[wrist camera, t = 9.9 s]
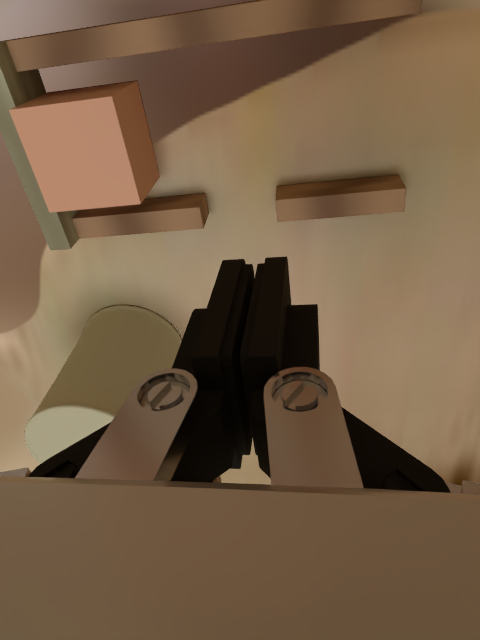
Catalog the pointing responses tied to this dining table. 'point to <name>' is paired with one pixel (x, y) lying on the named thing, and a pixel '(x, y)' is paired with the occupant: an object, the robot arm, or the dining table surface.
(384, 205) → the channel
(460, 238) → the dining table surface
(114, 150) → the block
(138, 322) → the can
